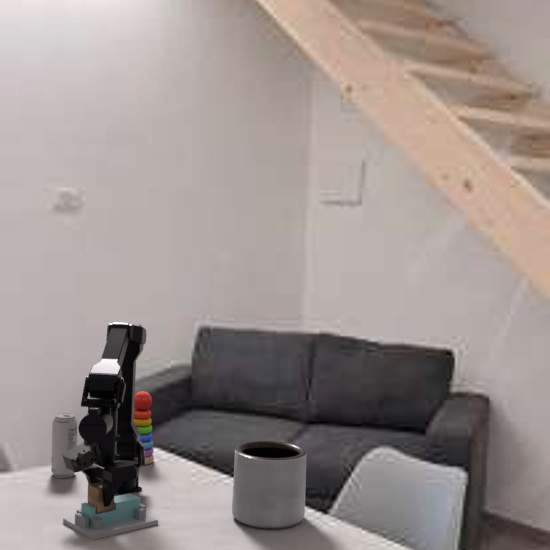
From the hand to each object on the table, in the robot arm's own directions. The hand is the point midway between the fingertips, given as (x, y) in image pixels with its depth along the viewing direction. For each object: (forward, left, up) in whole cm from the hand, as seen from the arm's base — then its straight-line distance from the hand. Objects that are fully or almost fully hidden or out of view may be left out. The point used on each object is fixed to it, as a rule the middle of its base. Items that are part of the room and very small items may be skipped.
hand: (101, 503), depth 201 cm
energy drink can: (-11, -36, -5) cm, 39 cm away
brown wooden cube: (0, 0, -1) cm, 1 cm away
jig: (-2, 0, -5) cm, 5 cm away
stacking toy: (-33, -36, -5) cm, 50 cm away
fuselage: (-2, 0, -4) cm, 4 cm away
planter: (-32, +17, -5) cm, 37 cm away
